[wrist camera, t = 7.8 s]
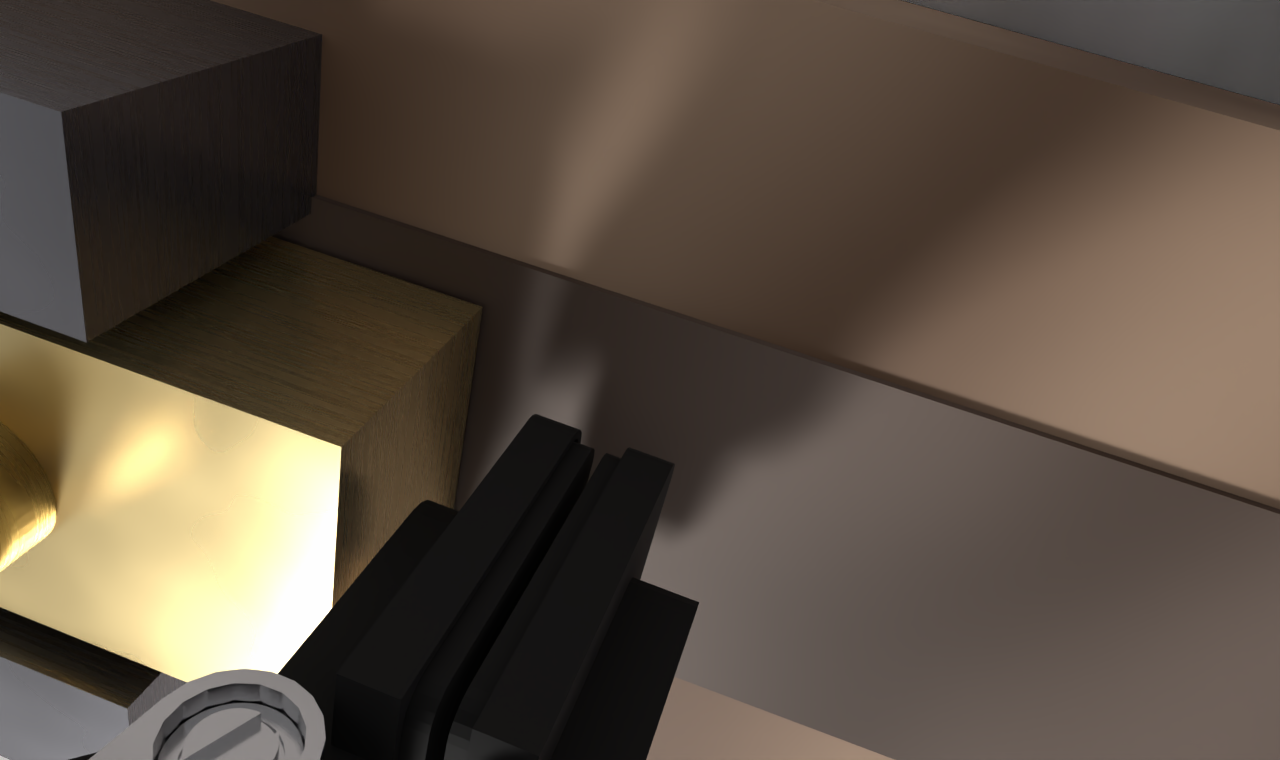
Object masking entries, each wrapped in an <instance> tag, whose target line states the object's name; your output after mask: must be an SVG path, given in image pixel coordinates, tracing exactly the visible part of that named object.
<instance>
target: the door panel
mask: <svg viewBox="0 0 1280 760" xmlns="http://www.w3.org/2000/svg"><path fill="white" fill-rule="evenodd" d="M210 1H214V2H217V3H220V4H224V5H227V6H230V7H233V8H237V9H240V10H243V11H247V12H250V13H253V14H256V15H260V16H263V17H266V18H270V19H273V20H276V21H280V22H283V23H286V24H289V25H293V26H296V27H299V28H303V29H306V30H309V31H312V32H316V33H319V34H322V56H321V84H320V112H319V141H318V169H317V194H316V195H315V196H313V197H312V204H311V214H309V215H307V216H306V217H304V218H302V219H300V220H299V221H297V222H295V223H293V224H292V225H290V226H288V227H287V228H285V229H283V230H281V231H280V232H278V233H276V234H274V235H273V236H272V237H275V238H278V239H281V240H284V241H287V242H290V243H293V244H296V245H299V246H302V247H305V248H308V249H311V250H314V251H317V252H320V253H323V254H326V255H328V256H331V257H334V258H337V259H340V260H343V261H346V262H349V263H352V264H355V265H358V266H361V267H364V268H367V269H370V270H373V271H376V272H379V273H382V274H385V275H388V276H391V277H394V278H397V279H400V280H403V281H406V282H409V283H412V284H415V285H418V286H421V287H424V288H427V289H430V290H433V291H436V292H439V293H442V294H445V295H448V296H451V297H454V298H457V299H460V300H463V301H466V302H469V303H472V304H475V305H478V306H481V307H482V313H481V320H480V327H479V334H478V341H477V348H476V355H475V362H474V369H473V376H472V383H471V390H470V397H469V404H468V411H467V418H466V425H465V432H464V439H463V446H462V453H461V460H460V467H459V474H458V481H457V488H456V495H455V502H454V510H457V511H460V509H461V508H462V507H463V505H464V504H465V503H466V501H467V500H468V499H469V497H470V496H471V495H472V493H473V492H474V491H475V490H476V488H477V487H478V486H479V484H480V483H481V482H482V480H483V479H484V478H485V476H486V475H487V474H488V472H489V471H490V470H491V468H492V467H493V466H494V464H495V463H496V462H497V460H498V459H499V458H500V456H501V455H502V454H503V452H504V451H505V450H506V448H507V447H508V446H509V445H510V443H511V442H512V441H513V439H514V438H515V437H516V435H517V434H518V433H519V431H520V430H521V429H522V427H523V426H524V425H525V423H526V422H527V421H528V419H529V418H530V417H531V416H532V415H534V414H538V415H541V416H543V417H546V418H549V419H552V420H555V421H557V422H560V423H563V424H566V425H568V426H571V427H574V428H577V429H579V430H581V432H582V436H581V443H580V444H583V445H585V446H588V447H591V448H594V450H595V452H594V459H593V463H592V467H591V471H590V475H589V479H590V478H591V476H592V474H593V473H594V471H595V469H596V467H597V466H598V464H599V462H600V461H601V459H602V457H603V456H604V454H606V453H608V454H611V455H613V456H616V457H619V458H622V456H623V454H624V452H625V451H626V449H627V448H629V447H630V448H633V449H635V450H638V451H641V452H644V453H646V454H649V455H652V456H655V457H658V458H660V459H663V460H666V461H669V462H671V463H674V464H675V466H674V471H673V474H672V478H671V481H670V484H669V488H668V491H667V494H666V498H665V501H664V504H663V507H662V511H661V514H660V517H659V520H658V524H657V527H656V530H655V533H654V537H653V540H652V543H651V547H650V550H649V553H648V556H647V560H646V563H645V566H644V569H643V573H642V576H641V579H640V580H642V581H644V582H647V583H650V584H652V585H655V586H658V587H660V588H663V589H666V590H668V591H671V592H674V593H676V594H679V595H681V596H684V597H687V598H689V599H692V600H695V601H697V602H699V605H698V608H697V611H696V614H695V617H694V620H693V623H692V626H691V629H690V632H689V635H688V638H687V641H686V644H685V647H684V650H683V653H682V656H681V659H680V661H679V664H678V667H677V670H676V673H675V676H674V679H673V682H672V685H671V688H670V691H669V694H668V697H667V700H666V703H665V706H664V709H663V712H662V715H661V718H660V721H659V724H658V727H657V729H656V732H655V735H654V738H653V741H652V744H651V747H650V750H649V753H648V756H647V759H646V760H1280V105H1277V104H1274V103H1270V102H1266V101H1263V100H1259V99H1256V98H1252V97H1248V96H1245V95H1241V94H1238V93H1234V92H1230V91H1227V90H1223V89H1219V88H1216V87H1212V86H1209V85H1205V84H1201V83H1198V82H1194V81H1191V80H1187V79H1183V78H1180V77H1176V76H1172V75H1169V74H1165V73H1162V72H1158V71H1154V70H1151V69H1147V68H1144V67H1140V66H1136V65H1133V64H1129V63H1125V62H1122V61H1118V60H1115V59H1111V58H1107V57H1104V56H1100V55H1097V54H1093V53H1089V52H1086V51H1082V50H1078V49H1075V48H1071V47H1068V46H1064V45H1060V44H1057V43H1053V42H1049V41H1046V40H1042V39H1039V38H1035V37H1031V36H1028V35H1024V34H1021V33H1017V32H1013V31H1010V30H1006V29H1002V28H999V27H995V26H992V25H988V24H984V23H981V22H977V21H974V20H970V19H966V18H963V17H959V16H955V15H952V14H948V13H945V12H941V11H937V10H934V9H930V8H927V7H923V6H919V5H916V4H912V3H908V2H905V1H901V0H210ZM589 479H588V481H589Z"/></svg>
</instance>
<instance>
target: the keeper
mask: <svg viewBox="0 0 1280 760" xmlns="http://www.w3.org/2000/svg"><path fill="white" fill-rule="evenodd" d="M321 56H322V34H319V33H316V32H312V31H309V30H306V29H303V28H299V27H296V26H293V25H289V24H286V23H283V22H280V21H276V20H273V19H270V18H266V17H263V16H260V15H256V14H253V13H250V12H247V11H243V10H240V9H237V8H233V7H230V6H227V5H224V4H220V3H217V2H214V1H210V0H0V311H1V312H3V313H6V314H9V315H12V316H14V317H17V318H20V319H23V320H26V321H28V322H31V323H34V324H37V325H39V326H42V327H45V328H48V329H51V330H53V331H56V332H59V333H62V334H64V335H67V336H70V337H73V338H76V339H78V340H81V341H84V342H88V341H90V340H92V339H93V338H95V337H97V336H99V335H100V334H102V333H104V332H106V331H107V330H109V329H111V328H113V327H114V326H116V325H118V324H120V323H121V322H123V321H125V320H127V319H128V318H130V317H132V316H133V315H135V314H137V313H139V312H140V311H142V310H144V309H146V308H147V307H149V306H151V305H153V304H154V303H156V302H158V301H160V300H161V299H163V298H165V297H167V296H168V295H170V294H172V293H173V292H175V291H177V290H179V289H180V288H182V287H184V286H186V285H187V284H189V283H191V282H193V281H194V280H196V279H198V278H200V277H201V276H203V275H205V274H207V273H208V272H210V271H212V270H213V269H215V268H217V267H219V266H220V265H222V264H224V263H226V262H227V261H229V260H231V259H233V258H234V257H236V256H238V255H240V254H241V253H243V252H245V251H247V250H248V249H250V248H252V247H253V246H255V245H257V244H259V243H260V242H262V241H264V240H266V239H267V238H269V237H271V236H273V235H274V234H276V233H278V232H280V231H281V230H283V229H285V228H287V227H288V226H290V225H292V224H293V223H295V222H297V221H299V220H300V219H302V218H304V217H306V216H307V215H309V214H311V204H312V197H313V196H315V195H316V194H317V169H318V141H319V112H320V84H321ZM186 683H187V682H185V681H182V680H180V679H177V678H175V677H172V676H170V675H167V674H165V673H162V672H160V671H157V670H155V669H152V668H150V667H148V666H145V665H143V664H140V663H138V662H135V661H133V660H130V659H128V658H125V657H123V656H120V655H118V654H115V653H113V652H110V651H108V650H105V649H103V648H100V647H98V646H95V645H93V644H91V643H88V642H86V641H83V640H81V639H78V638H76V637H73V636H71V635H68V634H66V633H63V632H61V631H58V630H56V629H53V628H51V627H48V626H46V625H43V624H41V623H38V622H36V621H34V620H31V619H29V618H26V617H24V616H21V615H19V614H16V613H14V612H11V611H9V610H6V609H4V608H1V607H0V756H3V757H5V758H8V759H10V760H68V759H72V758H76V757H80V756H84V755H88V754H92V753H96V752H98V751H100V750H101V749H102V748H103V747H104V746H106V745H107V744H108V743H109V742H110V741H112V740H113V739H114V738H115V737H117V736H118V735H119V734H120V733H121V732H123V731H124V730H125V729H126V728H127V727H129V726H130V725H131V724H132V723H133V722H135V721H136V720H137V719H138V718H140V717H141V716H142V715H143V714H144V713H146V712H147V711H148V710H149V709H150V708H152V707H153V706H154V705H155V704H156V703H158V702H159V701H160V700H161V699H163V698H164V697H165V696H167V695H169V694H170V693H172V692H173V691H175V690H176V689H178V688H179V687H181V686H183V685H184V684H186Z"/></svg>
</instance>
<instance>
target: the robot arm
mask: <svg viewBox="0 0 1280 760" xmlns="http://www.w3.org/2000/svg"><path fill="white" fill-rule="evenodd" d="M581 436H582V432H581V430H579V429H577V428H574V427H571V426H568V425H566V424H563V423H560V422H557V421H555V420H552V419H549V418H546V417H543V416H541V415H538V414H534V415H532V416H531V417H530V418H529V419H528V421H527V422H526V423H525V425H524V426H523V427H522V429H521V430H520V431H519V433H518V434H517V435H516V437H515V438H514V439H513V441H512V442H511V443H510V445H509V446H508V447H507V448H506V450H505V451H504V452H503V454H502V455H501V456H500V458H499V459H498V460H497V462H496V463H495V464H494V466H493V467H492V468H491V470H490V471H489V472H488V474H487V475H486V476H485V478H484V479H483V480H482V482H481V483H480V484H479V486H478V487H477V488H476V490H475V491H474V492H473V493H472V495H471V496H470V497H469V499H468V500H467V501H466V503H465V504H464V505H463V507H462V508H461V509H460V511H457V510H454V509H451V508H449V507H446V506H444V505H441V504H438V503H436V502H433V501H430V500H425V501H423V502H421V503H420V504H419V505H418V506H417V507H416V508H415V509H414V510H413V511H412V512H411V513H410V514H409V516H408V517H407V518H406V519H405V520H404V522H403V523H402V524H401V525H400V526H399V528H398V529H397V530H396V531H395V532H394V534H393V535H392V536H391V537H390V539H389V540H388V541H387V542H386V543H385V545H384V546H383V547H382V548H381V549H380V551H379V552H378V553H377V554H376V555H375V557H374V558H373V559H372V560H371V561H370V563H369V564H368V565H367V566H366V568H365V569H364V570H363V571H362V572H361V574H360V575H359V576H358V577H357V578H356V580H355V581H354V582H353V583H352V584H351V586H350V587H349V588H348V589H347V590H346V592H345V593H344V594H343V595H342V597H341V598H340V599H339V600H338V601H337V603H336V604H335V605H334V606H333V607H332V609H331V610H330V611H329V612H328V613H327V615H326V616H325V617H324V618H323V619H322V621H321V622H320V623H319V624H318V626H317V627H316V628H315V629H314V630H313V632H312V633H311V634H310V635H309V636H308V638H307V639H306V640H305V641H304V642H303V644H302V645H301V646H300V647H299V648H298V650H297V651H296V652H295V653H294V655H293V656H292V657H291V658H290V659H289V661H288V662H287V663H286V664H285V665H284V667H283V668H282V669H281V670H280V671H279V673H278V674H276V673H274V672H270V671H262V670H254V669H236V670H228V671H220V672H215V673H212V674H209V675H206V676H203V677H201V678H198V679H195V680H192V681H189V682H187V683H186V684H184V685H183V686H181V687H179V688H178V689H176V690H175V691H173V692H172V693H170V694H169V695H167V696H165V697H164V698H163V699H161V700H160V701H159V702H158V703H156V704H155V705H154V706H153V707H152V708H150V709H149V710H148V711H147V712H146V713H144V714H143V715H142V716H141V717H140V718H138V719H137V720H136V721H135V722H133V723H132V724H131V725H130V726H129V727H127V728H126V729H125V730H124V731H123V732H121V733H120V734H119V735H118V736H117V737H115V738H114V739H113V740H112V741H110V742H109V743H108V744H107V745H106V746H104V747H103V748H102V749H101V750H100V751H98V752H96V753H92V754H88V755H84V756H80V757H76V758H72V759H68V760H646V759H647V756H648V753H649V750H650V747H651V744H652V741H653V738H654V735H655V732H656V729H657V727H658V724H659V721H660V718H661V715H662V712H663V709H664V706H665V703H666V700H667V697H668V694H669V691H670V688H671V685H672V682H673V679H674V676H675V673H676V670H677V667H678V664H679V661H680V659H681V656H682V653H683V650H684V647H685V644H686V641H687V638H688V635H689V632H690V629H691V626H692V623H693V620H694V617H695V614H696V611H697V608H698V605H699V602H697V601H695V600H692V599H689V598H687V597H684V596H681V595H679V594H676V593H674V592H671V591H668V590H666V589H663V588H660V587H658V586H655V585H652V584H650V583H647V582H644V581H642V580H640V579H641V576H642V573H643V569H644V566H645V563H646V560H647V556H648V553H649V550H650V547H651V543H652V540H653V537H654V533H655V530H656V527H657V524H658V520H659V517H660V514H661V511H662V507H663V504H664V501H665V498H666V494H667V491H668V488H669V484H670V481H671V478H672V474H673V471H674V466H675V464H674V463H671V462H669V461H666V460H663V459H660V458H658V457H655V456H652V455H649V454H646V453H644V452H641V451H638V450H635V449H633V448H630V447H629V448H627V449H626V451H625V452H624V454H623V456H622V458H619V457H616V456H613V455H611V454H608V453H606V454H604V456H603V457H602V459H601V461H600V462H599V464H598V466H597V467H596V469H595V471H594V473H593V474H592V476H591V478H590V479H589V475H590V471H591V467H592V463H593V459H594V452H595V450H594V448H591V447H588V446H585V445H583V444H580V443H581ZM588 479H589V481H588Z"/></svg>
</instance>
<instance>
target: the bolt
mask: <svg viewBox="0 0 1280 760" xmlns="http://www.w3.org/2000/svg"><path fill="white" fill-rule="evenodd" d="M481 313H482V307H481V306H478V305H475V304H472V303H469V302H466V301H463V300H460V299H457V298H454V297H451V296H448V295H445V294H442V293H439V292H436V291H433V290H430V289H427V288H424V287H421V286H418V285H415V284H412V283H409V282H406V281H403V280H400V279H397V278H394V277H391V276H388V275H385V274H382V273H379V272H376V271H373V270H370V269H367V268H364V267H361V266H358V265H355V264H352V263H349V262H346V261H343V260H340V259H337V258H334V257H331V256H328V255H326V254H323V253H320V252H317V251H314V250H311V249H308V248H305V247H302V246H299V245H296V244H293V243H290V242H287V241H284V240H281V239H278V238H275V237H272V236H271V237H269V238H267V239H266V240H264V241H262V242H260V243H259V244H257V245H255V246H253V247H252V248H250V249H248V250H247V251H245V252H243V253H241V254H240V255H238V256H236V257H234V258H233V259H231V260H229V261H227V262H226V263H224V264H222V265H220V266H219V267H217V268H215V269H213V270H212V271H210V272H208V273H207V274H205V275H203V276H201V277H200V278H198V279H196V280H194V281H193V282H191V283H189V284H187V285H186V286H184V287H182V288H180V289H179V290H177V291H175V292H173V293H172V294H170V295H168V296H167V297H165V298H163V299H161V300H160V301H158V302H156V303H154V304H153V305H151V306H149V307H147V308H146V309H144V310H142V311H140V312H139V313H137V314H135V315H133V316H132V317H130V318H128V319H127V320H125V321H123V322H121V323H120V324H118V325H116V326H114V327H113V328H111V329H109V330H107V331H106V332H104V333H102V334H100V335H99V336H97V337H95V338H93V339H92V340H90V341H88V342H84V341H81V340H78V339H76V338H73V337H70V336H67V335H64V334H62V333H59V332H56V331H53V330H51V329H48V328H45V327H42V326H39V325H37V324H34V323H31V322H28V321H26V320H23V319H20V318H17V317H14V316H12V315H9V314H6V313H3V312H1V311H0V607H1V608H4V609H6V610H9V611H11V612H14V613H16V614H19V615H21V616H24V617H26V618H29V619H31V620H34V621H36V622H38V623H41V624H43V625H46V626H48V627H51V628H53V629H56V630H58V631H61V632H63V633H66V634H68V635H71V636H73V637H76V638H78V639H81V640H83V641H86V642H88V643H91V644H93V645H95V646H98V647H100V648H103V649H105V650H108V651H110V652H113V653H115V654H118V655H120V656H123V657H125V658H128V659H130V660H133V661H135V662H138V663H140V664H143V665H145V666H148V667H150V668H152V669H155V670H157V671H160V672H162V673H165V674H167V675H170V676H172V677H175V678H177V679H180V680H182V681H185V682H189V681H192V680H195V679H198V678H201V677H203V676H206V675H209V674H212V673H215V672H220V671H228V670H236V669H254V670H262V671H270V672H274V673H276V674H278V673H279V671H280V670H281V669H282V668H283V667H284V665H285V664H286V663H287V662H288V661H289V659H290V658H291V657H292V656H293V655H294V653H295V652H296V651H297V650H298V648H299V647H300V646H301V645H302V644H303V642H304V641H305V640H306V639H307V638H308V636H309V635H310V634H311V633H312V632H313V630H314V629H315V628H316V627H317V626H318V624H319V623H320V622H321V621H322V619H323V618H324V617H325V616H326V615H327V613H328V612H329V611H330V610H331V609H332V607H333V606H334V605H335V604H336V603H337V601H338V600H339V599H340V598H341V597H342V595H343V594H344V593H345V592H346V590H347V589H348V588H349V587H350V586H351V584H352V583H353V582H354V581H355V580H356V578H357V577H358V576H359V575H360V574H361V572H362V571H363V570H364V569H365V568H366V566H367V565H368V564H369V563H370V561H371V560H372V559H373V558H374V557H375V555H376V554H377V553H378V552H379V551H380V549H381V548H382V547H383V546H384V545H385V543H386V542H387V541H388V540H389V539H390V537H391V536H392V535H393V534H394V532H395V531H396V530H397V529H398V528H399V526H400V525H401V524H402V523H403V522H404V520H405V519H406V518H407V517H408V516H409V514H410V513H411V512H412V511H413V510H414V509H415V508H416V507H417V506H418V505H419V504H420V503H421V502H423V501H425V500H430V501H433V502H436V503H438V504H441V505H444V506H446V507H449V508H451V509H454V502H455V495H456V488H457V481H458V474H459V467H460V460H461V453H462V446H463V439H464V432H465V425H466V418H467V411H468V404H469V397H470V390H471V383H472V376H473V369H474V362H475V355H476V348H477V341H478V334H479V327H480V320H481Z"/></svg>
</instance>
